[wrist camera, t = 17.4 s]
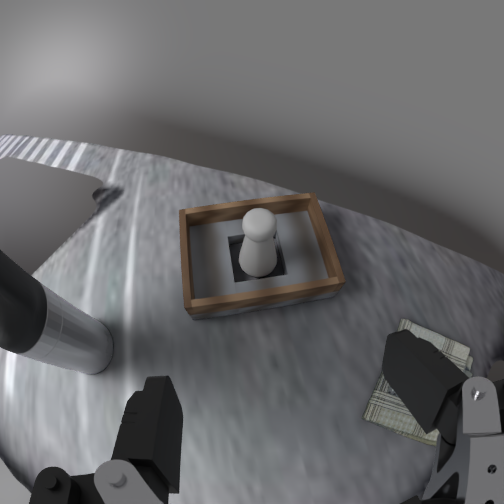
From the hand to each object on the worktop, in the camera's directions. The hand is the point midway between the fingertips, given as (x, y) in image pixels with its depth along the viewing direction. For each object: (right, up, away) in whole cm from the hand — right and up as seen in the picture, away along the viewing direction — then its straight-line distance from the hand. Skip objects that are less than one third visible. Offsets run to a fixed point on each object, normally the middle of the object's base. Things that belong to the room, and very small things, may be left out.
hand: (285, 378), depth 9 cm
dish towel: (+27, -18, +26) cm, 41 cm away
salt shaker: (0, +2, +36) cm, 36 cm away
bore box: (0, +3, +36) cm, 37 cm away
